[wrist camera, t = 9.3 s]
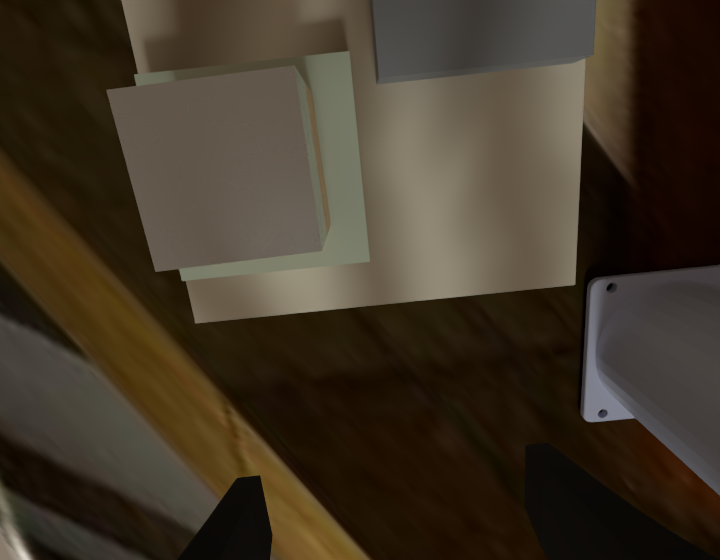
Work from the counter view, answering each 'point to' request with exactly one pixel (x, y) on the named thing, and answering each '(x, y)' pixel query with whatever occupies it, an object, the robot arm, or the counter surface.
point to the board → (401, 161)
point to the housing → (224, 167)
